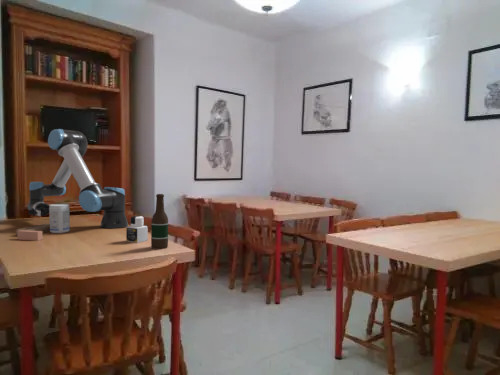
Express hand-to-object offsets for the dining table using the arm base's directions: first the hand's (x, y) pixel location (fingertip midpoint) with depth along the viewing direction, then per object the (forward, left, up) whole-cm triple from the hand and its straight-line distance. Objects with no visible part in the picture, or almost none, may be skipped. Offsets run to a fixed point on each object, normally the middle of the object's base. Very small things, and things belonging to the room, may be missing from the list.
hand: (53, 212), depth 203 cm
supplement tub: (-8, +6, -9) cm, 14 cm away
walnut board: (+2, +11, -9) cm, 14 cm away
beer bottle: (-74, +27, -9) cm, 79 cm away
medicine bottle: (-58, +17, -9) cm, 61 cm away
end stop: (-8, +27, -9) cm, 29 cm away
